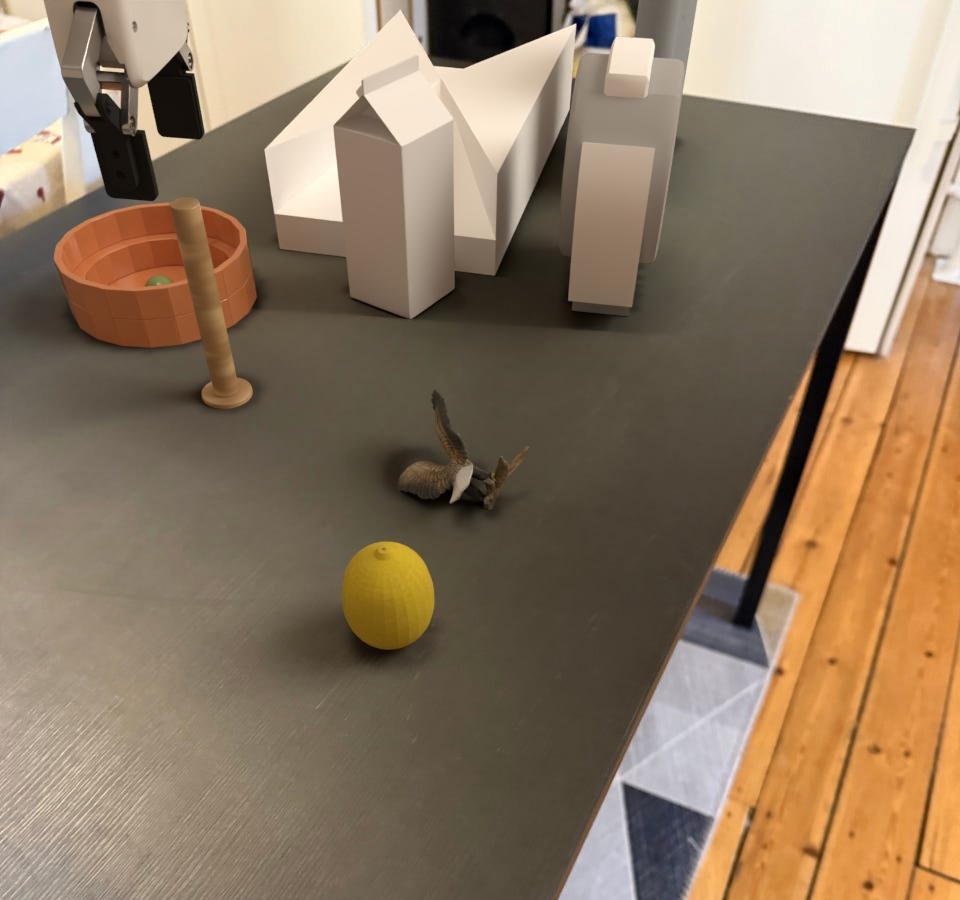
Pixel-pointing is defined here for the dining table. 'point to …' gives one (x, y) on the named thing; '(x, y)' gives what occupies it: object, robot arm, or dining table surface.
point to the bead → (158, 281)
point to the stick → (207, 307)
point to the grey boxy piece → (617, 170)
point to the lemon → (387, 595)
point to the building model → (476, 142)
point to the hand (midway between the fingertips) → (159, 165)
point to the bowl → (149, 275)
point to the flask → (667, 27)
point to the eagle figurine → (455, 467)
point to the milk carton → (397, 191)
